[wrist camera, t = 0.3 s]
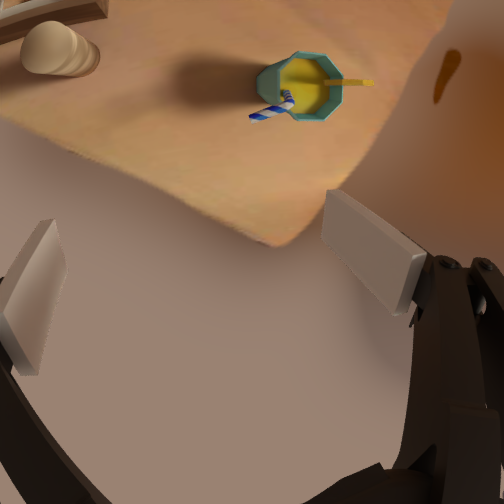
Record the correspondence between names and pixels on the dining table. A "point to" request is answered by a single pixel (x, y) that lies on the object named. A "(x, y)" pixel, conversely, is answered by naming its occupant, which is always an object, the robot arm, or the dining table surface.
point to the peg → (58, 51)
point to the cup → (303, 87)
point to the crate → (47, 15)
